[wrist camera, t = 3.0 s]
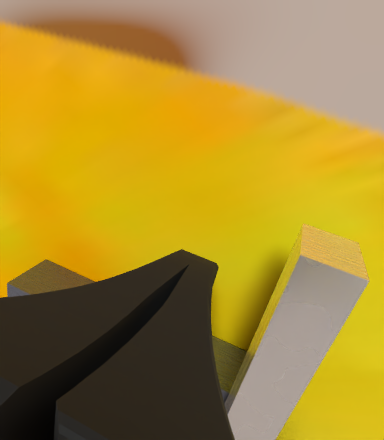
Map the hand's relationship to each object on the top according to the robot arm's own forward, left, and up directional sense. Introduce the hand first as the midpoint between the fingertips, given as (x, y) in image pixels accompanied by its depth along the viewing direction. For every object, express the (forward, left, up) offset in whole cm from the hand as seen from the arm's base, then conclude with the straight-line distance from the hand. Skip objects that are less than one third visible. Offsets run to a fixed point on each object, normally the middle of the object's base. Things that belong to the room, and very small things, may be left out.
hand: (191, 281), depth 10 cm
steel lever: (-3, +6, -3) cm, 8 cm away
